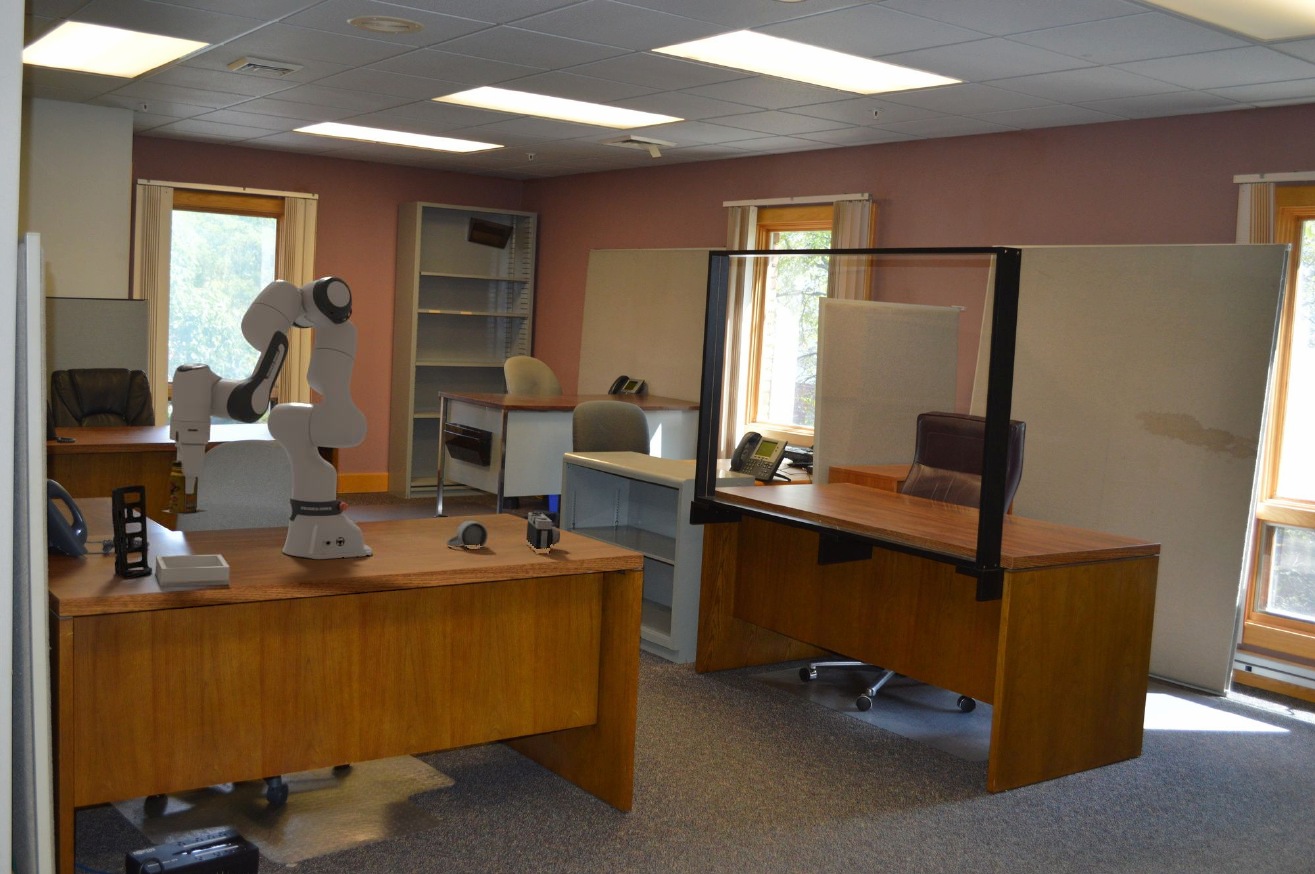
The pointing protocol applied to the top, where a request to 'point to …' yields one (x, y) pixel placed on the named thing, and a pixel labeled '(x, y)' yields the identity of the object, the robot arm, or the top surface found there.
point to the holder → (122, 536)
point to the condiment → (182, 493)
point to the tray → (192, 570)
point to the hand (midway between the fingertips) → (187, 490)
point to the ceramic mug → (469, 535)
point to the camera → (541, 531)
